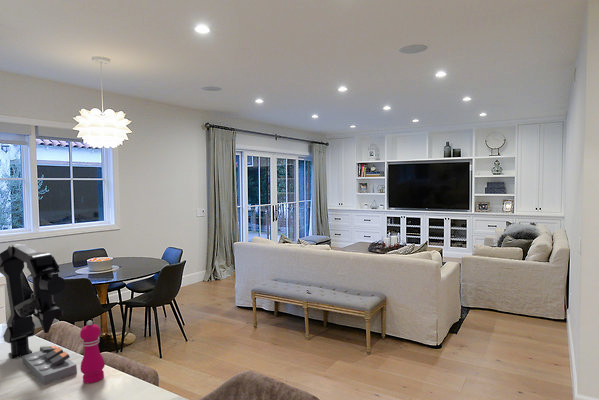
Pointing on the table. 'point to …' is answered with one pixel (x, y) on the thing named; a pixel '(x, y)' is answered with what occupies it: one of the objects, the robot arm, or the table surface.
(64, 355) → the rocker outer
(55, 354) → the rocker middle
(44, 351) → the rocker inner
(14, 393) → the table surface
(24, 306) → the robot arm
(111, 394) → the table surface
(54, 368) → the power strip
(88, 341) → the pepper mill
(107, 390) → the table surface
